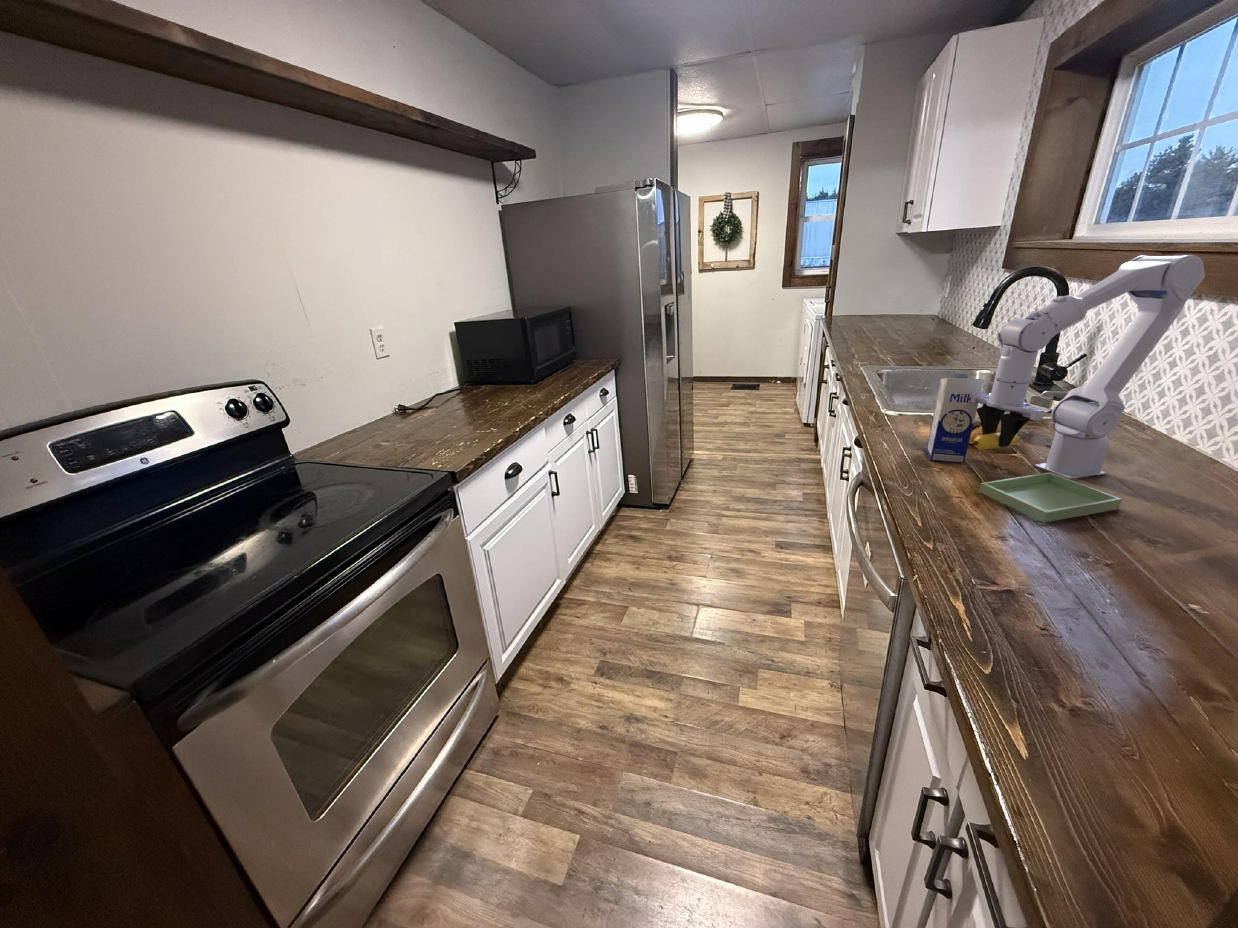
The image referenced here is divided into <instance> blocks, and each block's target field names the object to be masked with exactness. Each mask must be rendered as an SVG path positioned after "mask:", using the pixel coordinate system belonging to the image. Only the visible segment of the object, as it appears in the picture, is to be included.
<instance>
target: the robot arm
mask: <svg viewBox="0 0 1238 928" xmlns="http://www.w3.org/2000/svg"><path fill="white" fill-rule="evenodd" d="M1204 267H1205V266H1204V262H1203V260H1202V259H1201V257H1199V256H1198V255H1194V254H1188V255H1161V256H1159V255H1157V256H1156V255H1155V256H1154V255H1153V256H1151V255H1138V256H1136V257H1134V258H1132V259H1131V260H1130V261H1127V262H1125V263H1121V264H1120V266H1119V267H1118V270H1117V271H1115V272H1113V273H1112V274H1110V275H1109V276H1106V277H1105V278H1104V279H1102V280H1100V281H1099V282H1097V283H1096V284H1094V285H1092V286H1090V287H1089V288H1087V289H1086V290H1084V291H1082V292H1080V293H1079V294H1077V295H1076V296H1074V295H1064V296H1063V295H1057V297H1055V298H1053V299H1052V302H1051V303H1048V304H1047V305H1045V306H1044V307H1041V308H1039V309H1037V310H1034V311H1031V312H1029V313H1028V315H1027V316H1025V317H1024V318H1023V317H1022V318H1021V317H1017V318H1014V319H1012V320H1010V321H1008V322H1007V323H1006V324H1005V325H1004V326H1002V328H1001V330H1000V332H998V333H997V341H998V343H999V347H1000V348H999V354H1000V357H999V360H998V364H997V368H996V372H995V376H994V380H993V384H992V388H991V392H990V393H991V395H989V393H984V392H983V393H982V392H981V393H980V394H979V393H973V394H972V397H971V401H970V402H972V403H979V404H983V406H982V408H977V413H978V415H979V418H980V420H979V422H980V421H981V424H980V426H981V425H982V434H983V435H985V434H992V433H996V431H997V428H998V425H999V422H1000V420H1001V433H1000V437H999V445H998V446H1000V448H1006V447H1005V446H1007V447H1010V446H1009V445H1010V443H1011V441H1012V440H1013V438H1014V437H1015V435H1016V434H1017V435H1018V433H1019V432H1020V430H1021V429H1022V428H1023V427H1024V426H1025V425H1026V424H1027V423H1028V422H1029V421H1030V420H1032V421H1041V420H1043V419H1044V416H1045V413H1046V410H1045V409H1043V408H1040V407H1037V406H1036V405H1035V406H1034V405H1033V404H1030V403H1028V402H1027V403H1026V402H1024V401H1025V398H1026V396H1027V394H1028V390H1029V386H1030V382H1031V379H1032V375H1033V371H1034V368H1035V364H1036V360H1037V357H1038V353H1039V350H1042V349H1044V348H1045V347H1046V346H1047V345H1048V344H1049V343H1050V341H1051V339H1052V338H1055V336H1056V335H1057V334H1060V333H1062V332H1063V331H1065V330H1067V329H1069V328H1071V327H1072V326H1075V325H1076V324H1078V323H1080V322H1082V321H1084V319H1085V317H1086V316H1087V312H1088V311H1090V310H1093V309H1094V308H1097V307H1099V306H1101V305H1103V304H1106V303H1107V302H1109V301H1112V300H1114V299H1116V298H1118V297H1120V296H1122V295H1124V294H1127V295H1128V297H1129V298H1130V299H1131V300H1132V302H1133V303H1134V304H1136V306H1137V309H1138V312H1137V313H1136V315H1135V316H1134V317H1133V318H1132V320H1131V321H1130V323H1129V324H1128V326H1127V327H1126V329H1125V330H1124V332H1122V334H1121V336H1120V337H1119V339H1118V340H1117V341H1116V343H1115V344H1114V345H1113V347H1112V348H1111V350H1110V351H1109V352H1108V354H1107V355H1106V356H1105V358H1104V359H1103V361H1102V362H1101V363H1100V365H1099V366H1098V368H1097V369H1096V370H1095V371H1094V373H1093V375H1092V376H1091V377H1090V378H1089V380H1088V381H1087V383H1086V384H1084V385H1081V386H1077V387H1075V388H1073V389H1070V390H1069V391H1068V393H1067V394H1066V395H1065V396H1064V397H1063V398H1062V399H1060V400H1059V401H1057V403H1055V405H1054V406H1053V407H1052V409H1051V413H1050V417H1051V418H1050V419H1051V421H1052V422H1053V424H1054V429H1055V433H1054V436H1053V439H1052V443H1051V446H1050V449H1049V453H1048V456H1047V459H1046V462H1042V463H1036V464H1035V467H1039V468H1041V469H1044V470H1047V471H1049V472H1051V473H1054V474H1057V475H1059V476H1062V477H1065V478H1067V479H1078V478H1084V477H1090V476H1103V475H1106V472H1105V471H1103V470H1102V469H1103V466H1104V463H1105V461H1106V458H1107V455H1108V452H1109V449H1110V446H1111V444H1110V443H1111V442H1110V439H1109V437H1108V435H1109V434H1111V433H1112V432H1113V431H1114V430H1115V429H1116V428H1117V426H1118V424H1119V421H1120V418H1121V415H1122V413H1123V412H1124V410H1125V409H1126V406H1125V404H1124V402H1123V400H1122V399H1121V397H1120V394H1121V392H1122V391H1124V389H1125V387H1126V386H1127V385H1128V384H1129V382H1130V380H1132V378H1133V377H1134V376H1135V374H1136V372H1137V371H1138V370H1139V368H1140V367H1141V366H1142V365H1143V363H1144V362H1145V360H1146V359H1147V358H1148V357H1149V355H1150V354H1151V353H1152V352H1153V350H1154V348H1155V347H1156V346H1157V344H1158V343H1160V340H1161V339H1162V338H1163V337H1164V335H1165V334H1166V332H1167V331H1168V330H1169V329H1170V327H1171V326H1172V325H1173V323H1174V322H1175V321H1176V319H1178V317H1179V315H1180V313H1181V312H1182V311H1183V309H1184V307H1185V305H1186V303H1187V301H1188V300H1189V299H1190V298H1191V296H1192V295H1193V293H1195V291H1196V289H1197V288H1198V287H1199V286H1200V284H1201V283H1202V281H1203V280H1204V279H1205V277H1206V272H1205V268H1204ZM1095 403H1096V404H1095ZM1005 411H1007V412H1010V414H1004V413H1005ZM979 418H978V419H979Z"/></svg>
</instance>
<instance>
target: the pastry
mask: <svg viewBox="0 0 1238 928" xmlns="http://www.w3.org/2000/svg"><path fill="white" fill-rule="evenodd" d="M1000 432H1001V429H1000V428H999V427H998V428H997V431H996V433H1000ZM979 435H983V434H982V426H981V425H980V426H979V427H976V428H974V429H972V432H971V436H970V440H969V445H971V444H972V445H973V441H974V439H975V438H976V437H977V436H979Z"/></svg>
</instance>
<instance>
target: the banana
mask: <svg viewBox="0 0 1238 928" xmlns="http://www.w3.org/2000/svg"><path fill="white" fill-rule="evenodd" d="M1000 433H1001V432H1000ZM1000 433H992V434H985V435H979V436H977V437H976V438H975V439H974V441H973V444H972V445H973V446H974V447H975V448H976V449H978V450H981V451H985V450H986V451H987V450H992V449H1000V448H1001V447H1000V446H998V445H999V437H1000ZM1019 440H1020V437H1019V435H1018V433H1017V434H1016V435H1015V437H1014V438H1013V440H1012V441H1011V443H1010V445H1009V446H1005V447H1004V448H1007V447H1013V446H1015V445H1017V444H1018V442H1019Z"/></svg>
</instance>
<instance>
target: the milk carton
mask: <svg viewBox="0 0 1238 928" xmlns="http://www.w3.org/2000/svg"><path fill="white" fill-rule="evenodd" d="M968 377H969V374H966V373H955V374H954V373H953V375H952V377H944V378H941V379H939V380H940V383H939V387H938V392H937V397H936V401H935V407H934V412H933V415H932V421H931V427H930V429H929V430H930V431H929V435H928V440H927V446H926V450H925V451H926V453H927V456H928V458H929V460H930V462H931V461H933V462H943V463H953V464H954V463H955V464H960V463H961V464H962V463H965V460H966V456H967V452H968V448H969V445H970V442H969V440H970V436H971V432H972V431H973V428H974V424H975V423H974V419H975V415H976V411H977V407H978V403H972V402H970V401H971V397H972V394H973V393H979V394H980V393H982V390H983V385H984V383H985V379H983V378H968Z"/></svg>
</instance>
